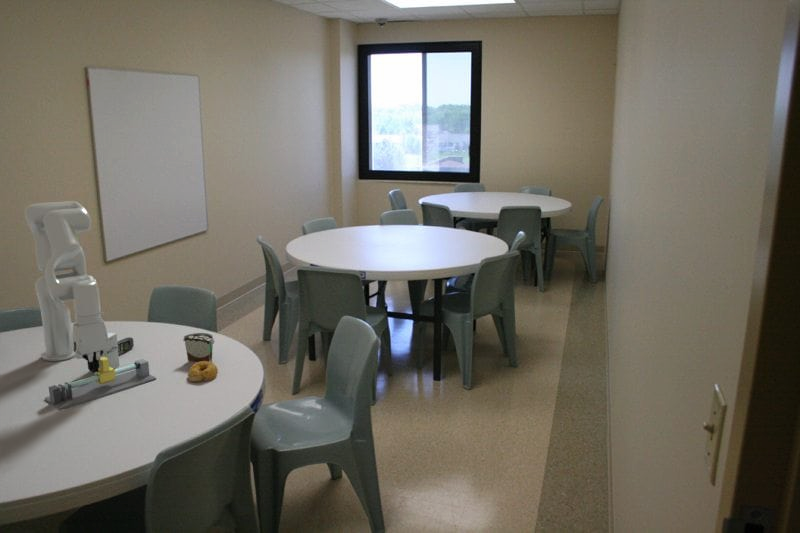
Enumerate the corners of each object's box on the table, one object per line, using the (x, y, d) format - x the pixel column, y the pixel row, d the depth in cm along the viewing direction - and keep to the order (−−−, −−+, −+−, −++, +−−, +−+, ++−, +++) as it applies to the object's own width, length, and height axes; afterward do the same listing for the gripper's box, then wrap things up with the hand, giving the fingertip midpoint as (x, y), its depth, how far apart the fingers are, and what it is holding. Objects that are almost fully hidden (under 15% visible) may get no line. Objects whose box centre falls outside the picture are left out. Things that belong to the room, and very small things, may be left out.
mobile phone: (109, 348, 238) (136, 334, 252) (102, 347, 239) (130, 334, 253) (110, 360, 240) (137, 346, 253) (104, 359, 240) (131, 345, 254)
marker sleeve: (95, 381, 214) (93, 359, 212) (110, 377, 218) (107, 355, 216) (101, 384, 211) (98, 362, 210) (115, 380, 215) (113, 358, 213)
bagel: (180, 380, 222) (180, 367, 221) (202, 369, 232) (201, 357, 231) (203, 385, 218) (202, 372, 217) (224, 374, 228) (223, 362, 227)
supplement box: (107, 373, 227) (104, 339, 224) (89, 371, 229) (85, 338, 226) (120, 365, 234) (117, 333, 231) (102, 363, 236) (99, 331, 233)
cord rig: (44, 399, 206) (42, 383, 205) (138, 370, 230) (137, 355, 229) (61, 410, 198) (58, 393, 197) (156, 379, 222) (154, 364, 221)
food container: (222, 359, 241) (221, 334, 239) (212, 365, 235) (211, 339, 233) (195, 355, 245) (193, 330, 242) (184, 361, 239) (182, 335, 237)
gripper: (105, 311, 215) (111, 362, 219) (59, 321, 204) (65, 374, 208) (116, 315, 210) (121, 367, 214) (69, 326, 199) (76, 381, 203)
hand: (94, 371), depth 211 cm, fingers closed
